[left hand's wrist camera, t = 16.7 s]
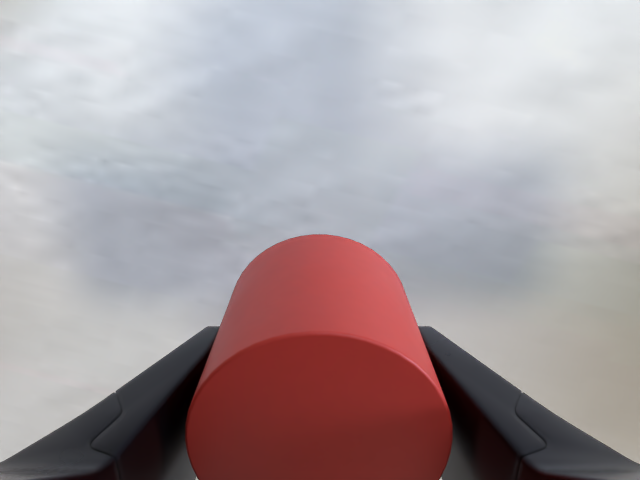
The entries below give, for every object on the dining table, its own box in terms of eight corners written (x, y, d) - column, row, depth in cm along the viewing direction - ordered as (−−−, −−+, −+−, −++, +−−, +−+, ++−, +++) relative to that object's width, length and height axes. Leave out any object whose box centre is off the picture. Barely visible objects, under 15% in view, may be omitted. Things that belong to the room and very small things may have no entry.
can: (416, 373, 13) (463, 521, 9) (254, 398, 14) (225, 553, 9) (395, 217, 11) (441, 309, 7) (209, 251, 12) (146, 358, 8)
